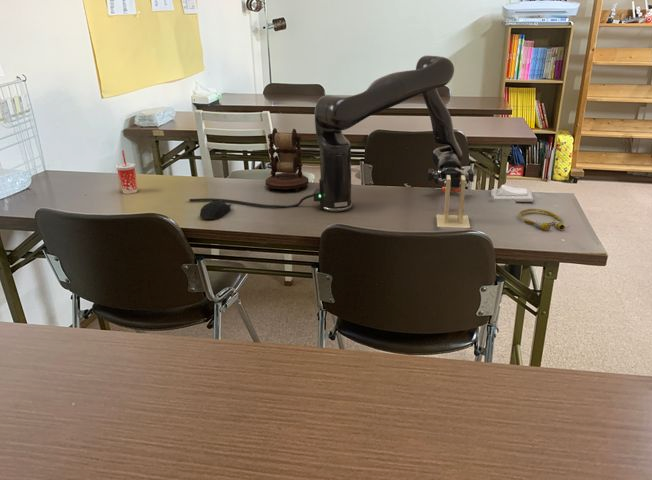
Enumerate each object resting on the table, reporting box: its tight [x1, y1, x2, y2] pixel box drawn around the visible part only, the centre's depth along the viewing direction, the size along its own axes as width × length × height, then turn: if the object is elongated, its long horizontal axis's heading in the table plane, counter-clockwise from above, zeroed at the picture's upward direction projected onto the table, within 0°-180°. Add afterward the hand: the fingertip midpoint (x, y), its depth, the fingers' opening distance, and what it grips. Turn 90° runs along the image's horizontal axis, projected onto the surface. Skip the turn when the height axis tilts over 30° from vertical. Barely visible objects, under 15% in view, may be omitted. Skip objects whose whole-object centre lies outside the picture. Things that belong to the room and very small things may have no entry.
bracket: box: [436, 175, 471, 229], centre depth 155 cm, size 10×9×14 cm
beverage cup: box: [115, 150, 138, 195], centre depth 186 cm, size 6×6×14 cm
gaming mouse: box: [199, 200, 232, 220], centre depth 168 cm, size 6×15×4 cm, turn 163°
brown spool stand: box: [264, 127, 310, 192], centre depth 188 cm, size 15×15×20 cm
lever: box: [441, 179, 461, 193], centre depth 158 cm, size 13×6×2 cm, turn 174°
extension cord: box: [518, 208, 565, 231], centre depth 160 cm, size 12×16×2 cm
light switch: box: [490, 184, 534, 203], centre depth 180 cm, size 11×4×13 cm
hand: (451, 181), depth 170 cm, fingers open, 8 cm apart
